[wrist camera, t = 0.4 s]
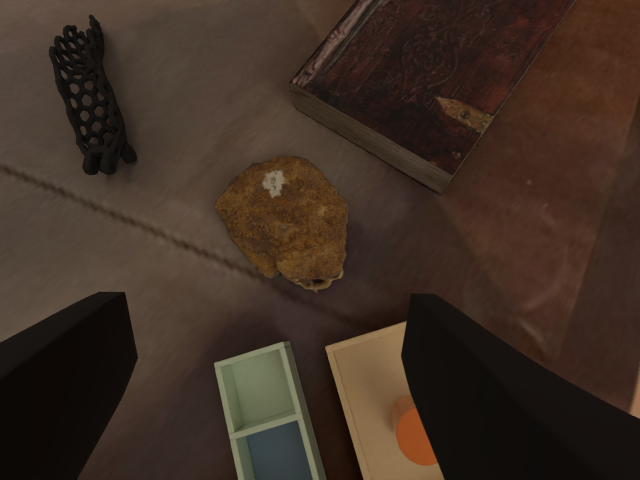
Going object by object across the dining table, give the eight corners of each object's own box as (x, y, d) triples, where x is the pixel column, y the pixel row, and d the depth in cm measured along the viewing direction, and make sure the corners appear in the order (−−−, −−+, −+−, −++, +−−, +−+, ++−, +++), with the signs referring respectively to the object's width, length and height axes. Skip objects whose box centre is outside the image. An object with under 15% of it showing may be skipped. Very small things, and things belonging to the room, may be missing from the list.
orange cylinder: (443, 437, 31) (459, 457, 26) (399, 450, 31) (407, 473, 26) (426, 389, 32) (439, 400, 27) (383, 402, 32) (388, 415, 27)
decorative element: (74, 40, 46) (34, 0, 40) (111, 26, 46) (76, -16, 40) (106, 194, 40) (65, 173, 35) (148, 179, 40) (114, 155, 35)
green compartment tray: (347, 557, 30) (346, 584, 27) (274, 579, 30) (265, 608, 27) (289, 340, 35) (283, 341, 31) (226, 360, 35) (213, 363, 32)
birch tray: (496, 476, 30) (504, 484, 29) (375, 512, 31) (376, 523, 29) (434, 312, 34) (438, 311, 32) (326, 345, 34) (324, 346, 33)
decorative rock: (384, 239, 37) (285, 150, 41) (388, 225, 33) (278, 128, 37) (303, 320, 35) (208, 218, 39) (297, 315, 31) (192, 203, 35)
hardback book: (434, -67, 45) (444, -114, 40) (579, -4, 41) (609, -49, 36) (294, 107, 41) (286, 78, 36) (439, 196, 37) (452, 176, 32)
